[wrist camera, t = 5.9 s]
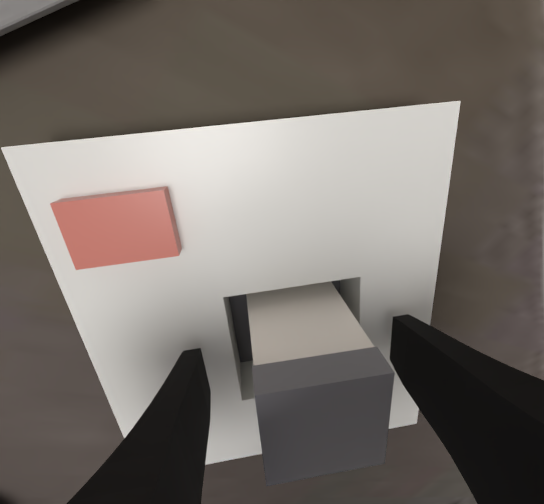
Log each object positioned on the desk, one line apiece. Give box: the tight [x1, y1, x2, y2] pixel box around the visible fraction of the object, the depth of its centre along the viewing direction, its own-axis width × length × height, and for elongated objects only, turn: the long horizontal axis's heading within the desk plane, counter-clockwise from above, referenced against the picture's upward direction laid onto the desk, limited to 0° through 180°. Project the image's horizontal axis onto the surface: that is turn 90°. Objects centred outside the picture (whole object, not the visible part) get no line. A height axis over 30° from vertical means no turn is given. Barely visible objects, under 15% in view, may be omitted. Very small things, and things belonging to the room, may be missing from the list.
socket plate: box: [1, 101, 461, 465], centre depth 12 cm, size 14×13×3 cm
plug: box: [246, 281, 395, 486], centre depth 11 cm, size 4×4×6 cm
